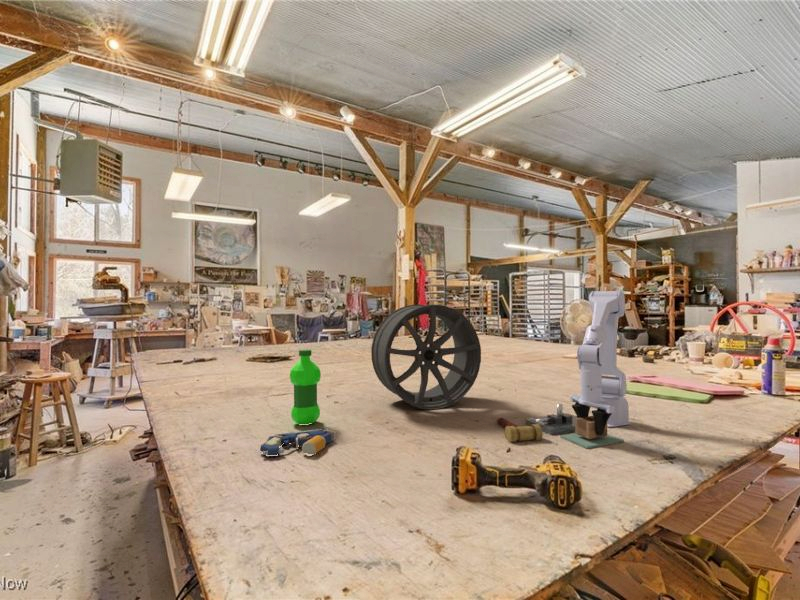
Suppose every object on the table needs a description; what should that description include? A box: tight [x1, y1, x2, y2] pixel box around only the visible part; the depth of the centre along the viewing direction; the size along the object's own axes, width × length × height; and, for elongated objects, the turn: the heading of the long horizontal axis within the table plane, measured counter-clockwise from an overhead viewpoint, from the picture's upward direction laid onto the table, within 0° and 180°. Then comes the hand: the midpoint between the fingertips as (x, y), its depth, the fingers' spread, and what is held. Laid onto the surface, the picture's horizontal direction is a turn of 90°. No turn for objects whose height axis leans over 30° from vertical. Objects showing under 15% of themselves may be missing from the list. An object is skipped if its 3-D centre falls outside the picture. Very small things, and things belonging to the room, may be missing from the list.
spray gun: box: [259, 427, 336, 456], centre depth 114 cm, size 21×4×15 cm
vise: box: [524, 403, 577, 436], centre depth 133 cm, size 18×12×7 cm, turn 111°
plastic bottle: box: [289, 348, 322, 425], centre depth 138 cm, size 10×10×25 cm
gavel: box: [496, 417, 544, 443], centre depth 128 cm, size 21×5×10 cm
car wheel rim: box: [370, 304, 482, 411], centre depth 163 cm, size 40×20×40 cm, turn 109°
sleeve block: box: [574, 415, 608, 439], centre depth 119 cm, size 7×5×4 cm
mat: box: [560, 432, 625, 450], centre depth 119 cm, size 14×10×1 cm
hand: (591, 431), depth 119 cm, fingers closed on sleeve block, 5 cm apart
